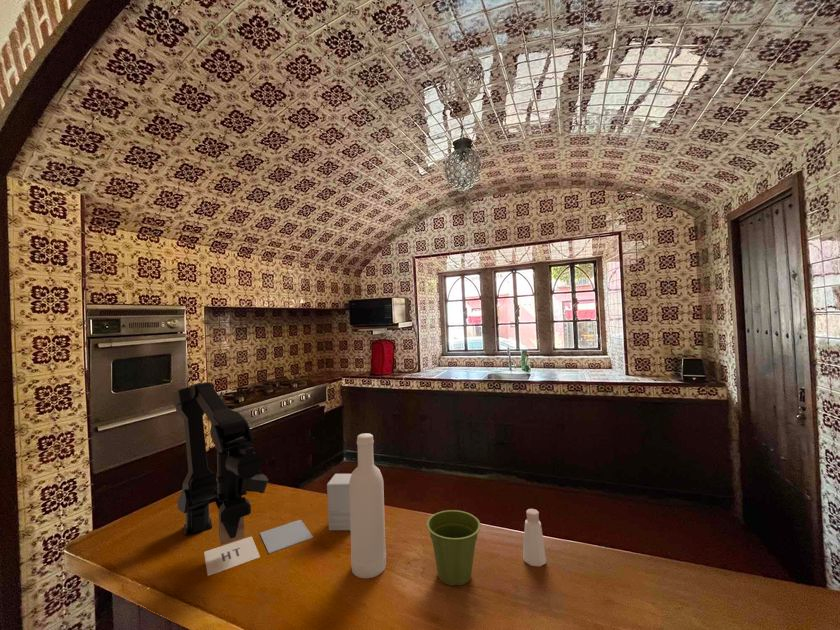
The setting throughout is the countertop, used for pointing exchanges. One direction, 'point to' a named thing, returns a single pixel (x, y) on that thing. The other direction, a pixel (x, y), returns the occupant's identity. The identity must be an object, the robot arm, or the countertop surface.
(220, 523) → the walnut block
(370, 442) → the bottle
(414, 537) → the countertop surface
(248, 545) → the card
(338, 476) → the supplement box
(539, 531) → the salt shaker
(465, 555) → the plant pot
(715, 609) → the countertop surface
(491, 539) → the countertop surface
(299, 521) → the grey mat
